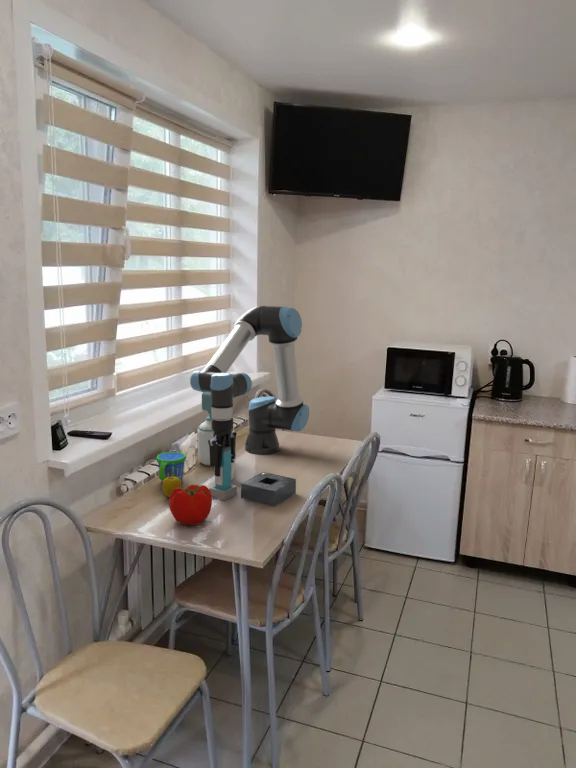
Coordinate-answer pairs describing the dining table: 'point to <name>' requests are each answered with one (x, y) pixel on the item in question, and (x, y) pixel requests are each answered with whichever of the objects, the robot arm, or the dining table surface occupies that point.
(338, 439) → the dining table surface
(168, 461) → the snack cup
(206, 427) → the soap bottle
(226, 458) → the plug
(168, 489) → the apple
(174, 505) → the tomato
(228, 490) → the holster
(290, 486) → the port
